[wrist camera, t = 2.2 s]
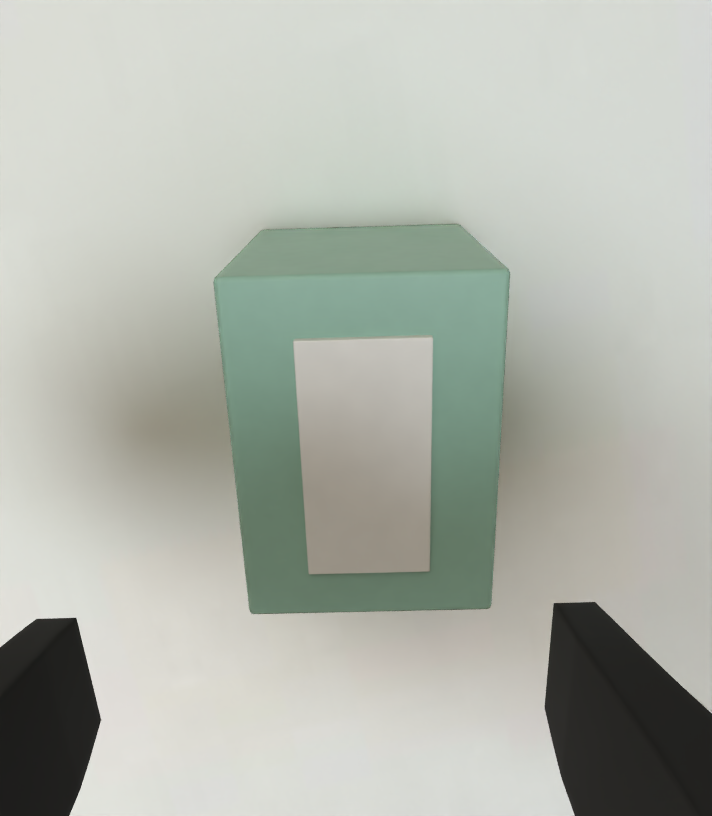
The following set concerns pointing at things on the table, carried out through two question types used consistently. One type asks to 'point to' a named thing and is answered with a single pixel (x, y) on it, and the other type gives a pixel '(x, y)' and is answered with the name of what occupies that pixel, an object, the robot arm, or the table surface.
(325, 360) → the tissue box
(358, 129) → the table surface
